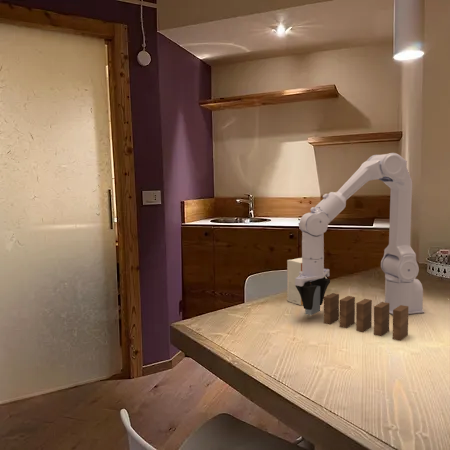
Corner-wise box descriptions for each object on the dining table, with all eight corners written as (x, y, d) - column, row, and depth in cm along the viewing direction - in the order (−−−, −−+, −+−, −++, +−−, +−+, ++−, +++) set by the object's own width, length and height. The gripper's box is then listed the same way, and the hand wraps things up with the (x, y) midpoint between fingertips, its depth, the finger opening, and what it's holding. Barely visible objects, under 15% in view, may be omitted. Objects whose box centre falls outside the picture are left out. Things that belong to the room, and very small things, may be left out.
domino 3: (371, 326, 109) (371, 299, 108) (363, 332, 105) (363, 304, 105) (364, 325, 110) (364, 298, 109) (356, 330, 107) (356, 303, 106)
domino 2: (354, 323, 112) (354, 297, 111) (346, 328, 108) (346, 301, 108) (348, 321, 113) (348, 295, 112) (339, 326, 110) (339, 300, 109)
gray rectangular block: (320, 310, 119) (320, 286, 118) (311, 315, 115) (311, 289, 114) (314, 309, 120) (314, 285, 119) (305, 314, 116) (305, 288, 116)
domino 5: (407, 334, 103) (408, 306, 102) (400, 340, 99) (400, 311, 99) (400, 333, 104) (400, 305, 103) (392, 339, 101) (393, 309, 100)
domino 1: (338, 319, 115) (338, 294, 114) (329, 324, 111) (329, 298, 111) (332, 318, 116) (332, 293, 115) (323, 323, 113) (323, 297, 112)
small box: (301, 305, 128) (300, 262, 127) (286, 301, 133) (286, 259, 132) (320, 301, 133) (320, 259, 131) (306, 296, 138) (305, 256, 136)
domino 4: (389, 330, 106) (389, 303, 105) (381, 336, 102) (381, 307, 102) (381, 329, 107) (382, 301, 106) (373, 334, 104) (374, 306, 103)
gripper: (313, 252, 124) (314, 298, 125) (285, 260, 113) (285, 310, 115) (336, 254, 119) (336, 302, 121) (308, 263, 108) (308, 315, 110)
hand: (313, 306), depth 117 cm, fingers closed on gray rectangular block, 5 cm apart
